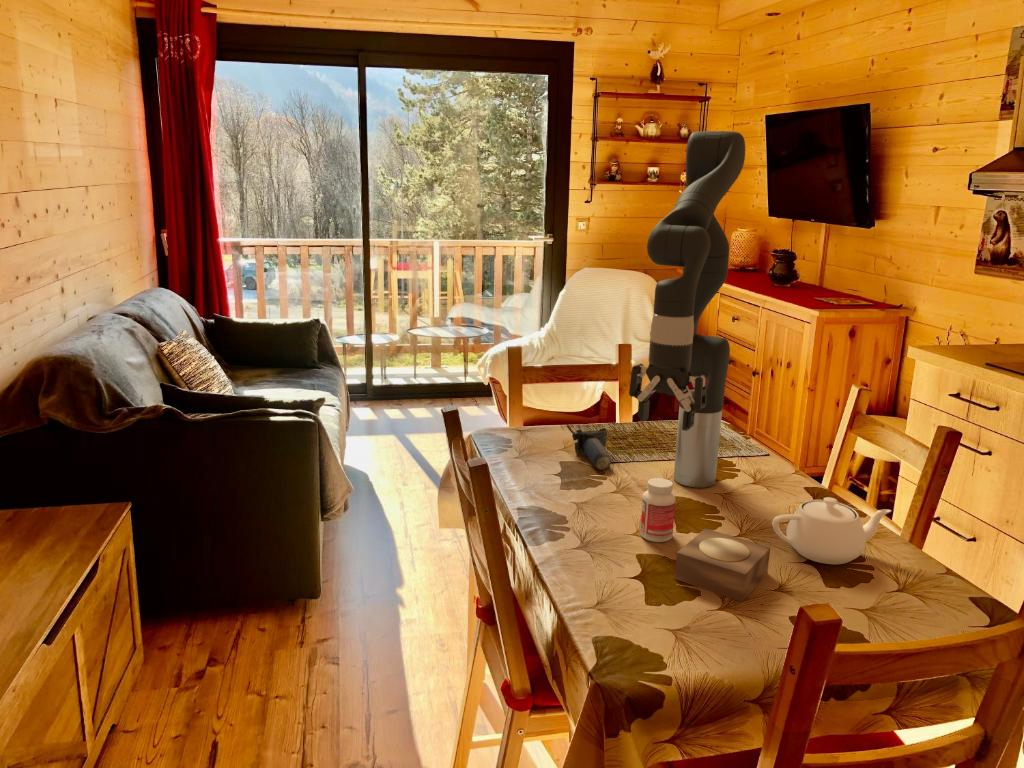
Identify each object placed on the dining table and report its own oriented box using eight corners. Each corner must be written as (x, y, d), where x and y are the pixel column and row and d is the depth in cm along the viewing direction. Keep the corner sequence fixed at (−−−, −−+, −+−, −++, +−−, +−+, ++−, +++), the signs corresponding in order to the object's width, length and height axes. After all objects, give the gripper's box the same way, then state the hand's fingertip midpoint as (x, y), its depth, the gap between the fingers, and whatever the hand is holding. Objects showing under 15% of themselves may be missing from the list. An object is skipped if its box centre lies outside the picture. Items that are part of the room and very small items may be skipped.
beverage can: (574, 459, 197) (590, 480, 186) (570, 430, 195) (586, 450, 184) (609, 450, 199) (627, 470, 188) (606, 422, 196) (624, 440, 185)
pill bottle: (679, 538, 154) (684, 484, 151) (655, 546, 150) (659, 491, 147) (656, 526, 158) (660, 473, 156) (633, 533, 155) (636, 479, 152)
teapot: (783, 571, 142) (790, 515, 139) (756, 536, 155) (761, 484, 152) (903, 570, 144) (913, 514, 141) (866, 535, 157) (874, 484, 154)
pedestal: (703, 553, 148) (705, 527, 146) (767, 573, 141) (770, 546, 140) (674, 578, 139) (676, 551, 137) (742, 601, 132) (745, 573, 130)
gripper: (717, 341, 143) (709, 428, 147) (645, 330, 151) (639, 412, 155) (700, 348, 137) (692, 438, 141) (626, 336, 145) (620, 422, 149)
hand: (664, 424), depth 148 cm, fingers open, 8 cm apart
